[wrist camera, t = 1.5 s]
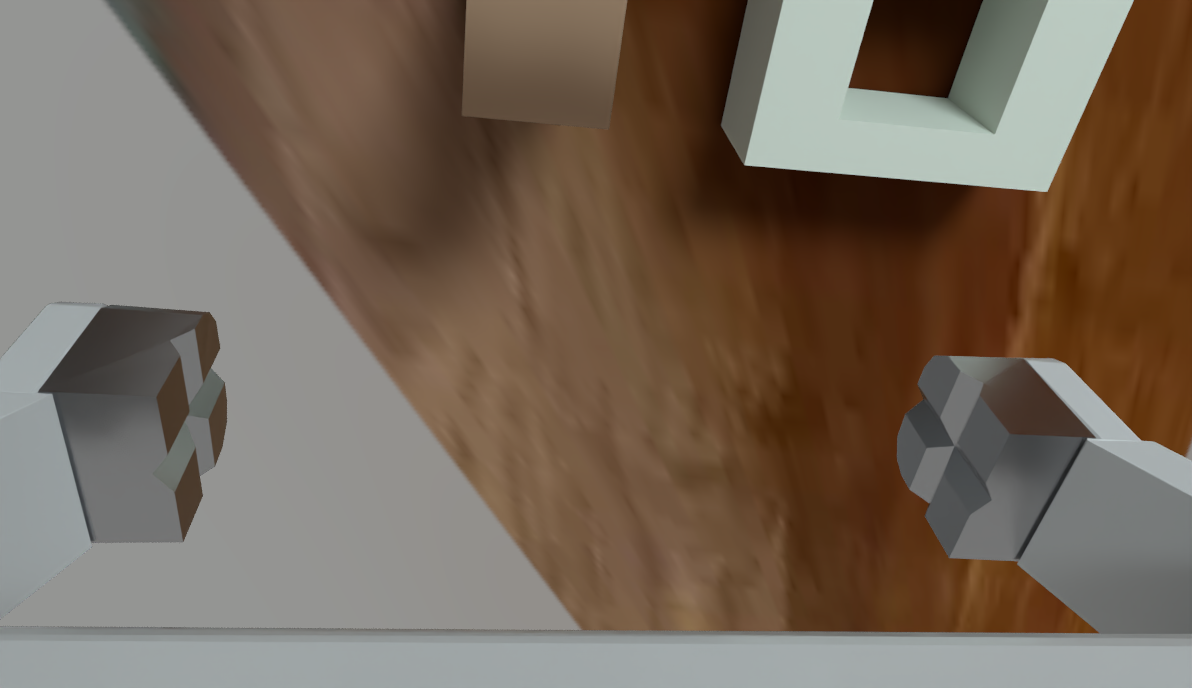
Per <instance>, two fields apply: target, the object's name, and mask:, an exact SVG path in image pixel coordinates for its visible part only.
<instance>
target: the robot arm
mask: <svg viewBox="0 0 1192 688" xmlns="http://www.w3.org/2000/svg"><path fill="white" fill-rule="evenodd" d="M219 349H220V344H219V338H218V332H217V325H216V321H215V319H214V318H213V317H212V315H211V314H210V312H198V311H185V310H171V309H159V308H146V307H133V306H119V305H110V306H108V305H105V304H96V303H74V302H73V303H72V302H57V303H51V304H48V305H47V306H46V307H45V308H44V309H43V310H42V311H41V312H40V314H38V316H37V317H36V318H35V319H34V320H33V321H32V322H31V324H30V325H29V326H28V327H27V328H26V329H25V330H24V332H23V333H22V334H21V335H20V336H19V337H18V339H17V340H16V341H15V342H14V343H13V344H12V345H11V346H10V348H9V349H8V350H7V351H6V352H5V353H4V355H3V356H2V357H1V358H0V619H1V618H3V617H4V616H5V615H6V614H8V613H9V612H10V611H11V610H13V609H14V608H15V607H16V606H18V605H19V604H20V603H21V602H23V601H24V600H25V599H27V598H28V597H29V596H31V595H32V594H33V593H34V592H36V591H37V590H38V589H39V588H41V587H42V586H43V585H44V584H46V583H47V582H48V581H50V580H51V579H52V578H53V577H54V576H56V575H57V574H58V573H60V572H61V571H62V570H64V568H66V567H67V566H69V565H70V564H71V563H72V562H74V561H75V560H76V559H78V558H79V557H80V556H81V555H83V554H84V553H85V552H86V551H88V550H89V549H90V548H92V544H91V543H100V542H101V543H102V542H103V543H104V542H105V543H111V542H112V543H113V542H183V541H184V539H185V537H186V534H187V532H188V529H189V527H190V525H191V522H192V520H193V518H194V515H195V513H196V511H197V508H198V506H199V503H200V501H201V499H202V496H203V494H202V487H201V481H200V476H201V475H203V474H204V473H206V472H207V471H209V470H210V469H212V468H213V467H215V465H216V462H217V460H218V457H219V454H220V452H221V449H222V446H223V440H224V435H225V429H226V423H227V398H226V389H225V382H224V381H223V380H222V379H221V378H220V377H219V376H218V375H217V374H216V373H215V372H214V371H213V370H212V369H211V366H212V364H213V362H214V360H215V358H216V356H217V353H218V351H219ZM918 387H919V389H920V392H921V395H922V397H923V400H922V401H921V402H920V403H919V404H917V405H916V406H915V407H914V408H912V409H911V410H910V411H909V412H907V413H906V414H905V417H904V420H903V422H902V425H901V428H900V431H899V434H898V440H897V460H898V464H899V468H900V472H901V475H902V477H903V478H904V480H905V482H906V484H907V486H908V488H909V489H910V490H911V491H913V492H914V493H916V494H917V495H918V496H920V497H921V498H923V499H924V500H926V501H927V502H928V503H929V505H928V508H927V511H926V514H925V517H926V519H927V521H928V522H929V524H930V526H931V527H932V529H933V531H934V533H935V534H936V536H937V538H938V539H939V541H940V543H941V544H942V546H943V548H944V550H945V551H946V553H947V555H948V556H949V558H962V559H983V560H1004V561H1019V562H1018V564H1017V565H1019V566H1020V567H1021V568H1022V569H1024V570H1025V571H1026V572H1027V573H1028V574H1030V575H1031V576H1032V577H1033V578H1034V579H1036V580H1037V581H1038V582H1039V583H1040V584H1042V585H1043V586H1044V587H1045V588H1046V589H1048V590H1049V591H1050V592H1051V593H1052V594H1054V595H1055V596H1056V597H1057V598H1058V599H1060V600H1061V601H1062V602H1063V603H1064V604H1066V605H1067V606H1068V607H1069V608H1070V609H1072V610H1073V611H1074V612H1075V613H1076V614H1078V615H1079V616H1080V617H1081V618H1083V619H1084V620H1085V621H1086V622H1087V623H1089V624H1090V625H1091V626H1092V627H1093V628H1095V629H1096V630H1097V631H1098V632H1099V633H1101V634H1085V633H950V632H816V631H618V630H469V629H468V630H467V629H325V628H323V629H321V628H317V629H316V628H181V627H178V628H177V627H176V628H175V627H174V628H173V627H38V626H37V627H36V626H30V627H28V626H0V688H1192V461H1191V460H1189V459H1187V458H1185V457H1183V456H1181V455H1179V454H1177V453H1175V452H1173V451H1171V450H1169V449H1167V448H1165V447H1163V446H1161V445H1159V444H1157V443H1155V442H1151V441H1141V440H1140V439H1139V438H1138V437H1137V436H1136V435H1135V434H1134V433H1133V432H1132V431H1131V430H1130V429H1129V428H1128V427H1127V426H1126V425H1125V424H1124V423H1123V422H1122V421H1121V420H1120V419H1119V418H1118V416H1117V415H1116V414H1115V413H1114V412H1113V411H1112V410H1111V409H1110V408H1109V407H1108V406H1107V405H1106V404H1105V403H1104V402H1103V401H1102V400H1101V399H1100V398H1099V397H1098V396H1097V395H1096V394H1095V393H1094V392H1093V391H1092V390H1091V389H1090V388H1089V387H1088V386H1087V385H1086V384H1085V383H1084V382H1083V381H1082V380H1081V379H1080V378H1079V377H1078V376H1077V375H1076V374H1075V373H1074V372H1073V371H1072V370H1071V368H1070V367H1069V366H1068V365H1067V364H1065V363H1063V362H1060V361H1058V360H1055V359H1046V358H992V357H960V356H934V357H933V358H932V359H931V360H930V361H929V363H928V364H927V365H926V366H925V368H924V370H923V372H922V375H921V377H920V380H919V382H918Z"/></svg>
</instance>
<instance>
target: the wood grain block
mask: <svg viewBox="0 0 1192 688" xmlns="http://www.w3.org/2000/svg"><path fill="white" fill-rule="evenodd" d="M626 5H627V0H467V1H466V24H465V48H464V72H463V95H462V116H467V117H478V118H489V119H500V120H510V121H521V122H532V123H543V124H554V125H565V126H576V127H587V128H597V129H608V130H609V126H610V119H611V112H612V104H613V97H614V90H615V83H616V76H617V69H618V62H619V55H620V48H621V41H622V34H623V26H624V19H625V12H626Z"/></svg>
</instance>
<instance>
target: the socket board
mask: <svg viewBox="0 0 1192 688" xmlns="http://www.w3.org/2000/svg"><path fill="white" fill-rule="evenodd" d="M1133 1H1134V0H983V2H982V4H981V7H980V10H979V13H978V16H977V18H976V21H975V24H974V27H973V29H972V32H971V35H970V38H969V41H968V43H967V46H966V49H965V52H964V55H963V57H962V60H961V63H960V66H959V68H958V71H957V74H956V77H955V80H954V82H953V85H952V88H951V91H950V93H949V96H948V98H940V97H931V96H921V95H911V94H902V93H892V92H882V91H873V90H863V89H853V88H848V85H849V82H850V79H851V75H852V72H853V68H854V65H855V61H856V58H857V55H858V51H859V48H860V44H861V41H862V38H863V34H864V31H865V27H866V24H867V20H868V17H869V14H870V10H871V7H872V3H873V0H748V2H747V7H746V12H745V16H744V21H743V26H742V30H741V35H740V39H739V44H738V49H737V53H736V58H735V63H734V67H733V72H732V77H731V81H730V86H729V91H728V95H727V100H726V104H725V109H724V114H723V118H722V123H721V127H722V129H723V130H724V132H725V134H726V135H727V137H728V139H729V140H730V142H731V144H732V145H733V147H734V149H735V150H736V152H737V154H738V156H739V157H740V159H741V161H742V162H743V164H744V165H747V166H759V167H770V168H781V169H793V170H804V171H815V172H827V173H838V174H850V175H861V176H872V177H884V178H895V179H906V180H918V181H929V182H941V183H952V184H963V185H975V186H986V187H997V188H1009V189H1020V190H1032V191H1043V192H1047V191H1048V189H1049V186H1050V184H1051V182H1052V180H1053V177H1054V175H1055V173H1056V171H1057V169H1058V166H1059V164H1060V162H1061V160H1062V158H1063V155H1064V153H1065V151H1066V149H1067V147H1068V144H1069V142H1070V140H1071V138H1072V135H1073V133H1074V131H1075V129H1076V127H1077V124H1078V122H1079V120H1080V118H1081V116H1082V113H1083V111H1084V109H1085V107H1086V104H1087V102H1088V100H1089V98H1090V96H1091V93H1092V91H1093V89H1094V87H1095V85H1096V82H1097V80H1098V78H1099V76H1100V74H1101V71H1102V69H1103V67H1104V65H1105V62H1106V60H1107V58H1108V56H1109V54H1110V51H1111V49H1112V47H1113V45H1114V43H1115V40H1116V38H1117V36H1118V34H1119V32H1120V29H1121V27H1122V25H1123V23H1124V20H1125V18H1126V16H1127V14H1128V12H1129V9H1130V7H1131V5H1132V3H1133Z"/></svg>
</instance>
